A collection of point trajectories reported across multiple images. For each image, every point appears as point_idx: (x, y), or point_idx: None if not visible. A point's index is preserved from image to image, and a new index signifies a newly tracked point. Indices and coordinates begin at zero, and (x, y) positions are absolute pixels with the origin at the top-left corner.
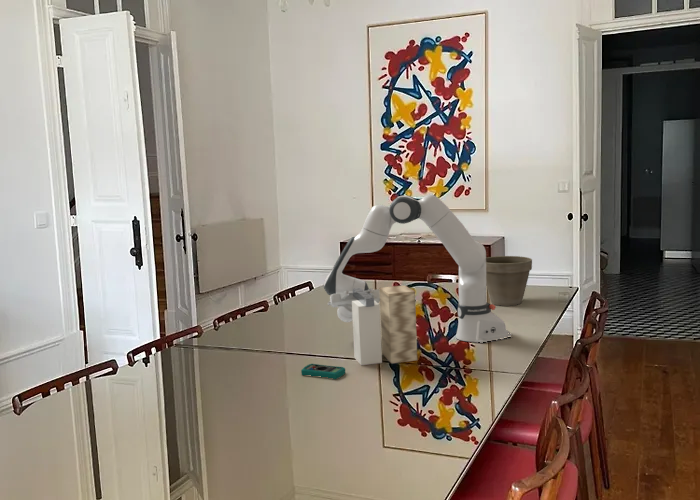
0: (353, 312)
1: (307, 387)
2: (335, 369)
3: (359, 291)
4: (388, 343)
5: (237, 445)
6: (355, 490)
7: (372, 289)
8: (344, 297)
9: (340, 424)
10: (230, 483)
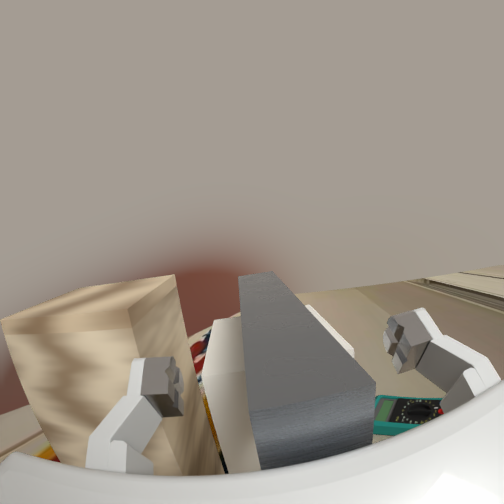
0: None
1: (419, 373)
2: (386, 417)
3: (286, 316)
4: (214, 461)
5: (419, 298)
6: (320, 292)
7: (141, 362)
8: (434, 377)
9: (340, 324)
10: (396, 285)
